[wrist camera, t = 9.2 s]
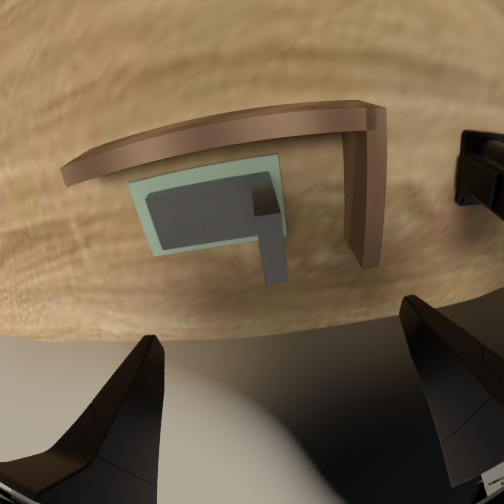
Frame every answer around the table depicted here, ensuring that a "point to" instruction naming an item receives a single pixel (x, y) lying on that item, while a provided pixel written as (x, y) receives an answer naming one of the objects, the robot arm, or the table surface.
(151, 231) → the mat
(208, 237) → the angle bracket
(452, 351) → the robot arm
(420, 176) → the table surface
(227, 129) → the corner walls
